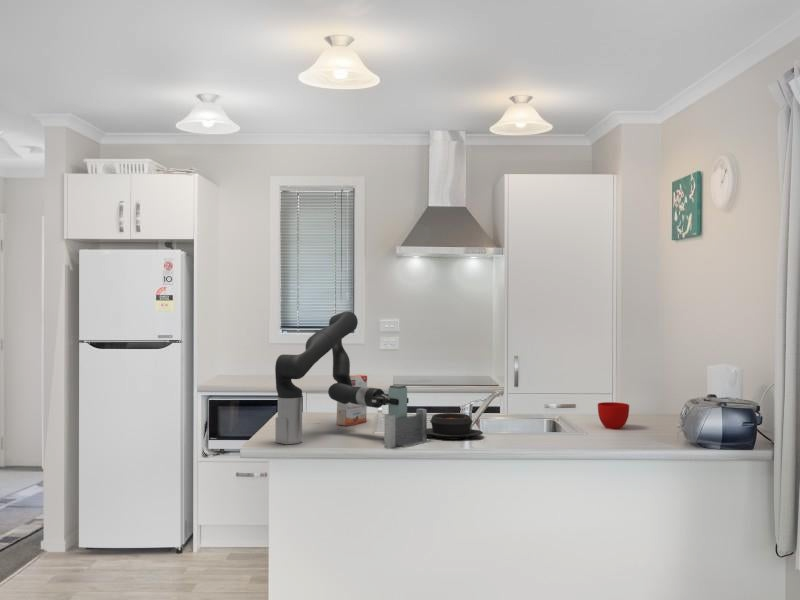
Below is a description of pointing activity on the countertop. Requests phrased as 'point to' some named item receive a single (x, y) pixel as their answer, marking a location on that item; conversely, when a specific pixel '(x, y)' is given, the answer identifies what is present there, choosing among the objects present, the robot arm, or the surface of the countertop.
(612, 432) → the countertop surface
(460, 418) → the casserole
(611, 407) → the ceramic cup
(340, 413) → the cracker box
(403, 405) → the block
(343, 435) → the countertop surface
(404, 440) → the grey wall block
